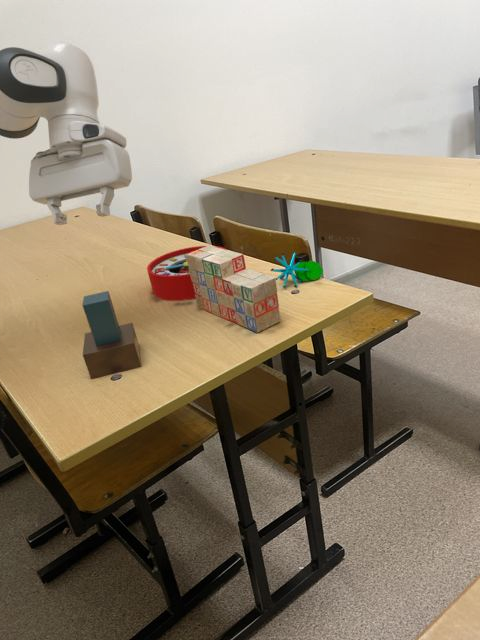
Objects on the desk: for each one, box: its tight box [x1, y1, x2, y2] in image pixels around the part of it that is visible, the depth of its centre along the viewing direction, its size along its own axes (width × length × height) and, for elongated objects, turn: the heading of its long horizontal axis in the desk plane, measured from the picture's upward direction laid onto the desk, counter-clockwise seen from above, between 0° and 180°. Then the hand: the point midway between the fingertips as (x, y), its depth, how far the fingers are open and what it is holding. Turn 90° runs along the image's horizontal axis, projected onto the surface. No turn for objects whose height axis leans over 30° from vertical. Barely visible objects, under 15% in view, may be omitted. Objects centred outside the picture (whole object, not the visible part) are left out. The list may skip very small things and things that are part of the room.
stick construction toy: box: [270, 252, 324, 289], centre depth 120 cm, size 12×7×8 cm
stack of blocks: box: [186, 245, 282, 333], centre depth 106 cm, size 21×6×12 cm, turn 40°
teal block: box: [82, 290, 121, 346], centre depth 94 cm, size 4×4×8 cm
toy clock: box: [146, 245, 228, 302], centre depth 127 cm, size 20×6×20 cm
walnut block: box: [82, 322, 142, 380], centre depth 97 cm, size 9×9×5 cm
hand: (81, 220), depth 94 cm, fingers open, 8 cm apart
